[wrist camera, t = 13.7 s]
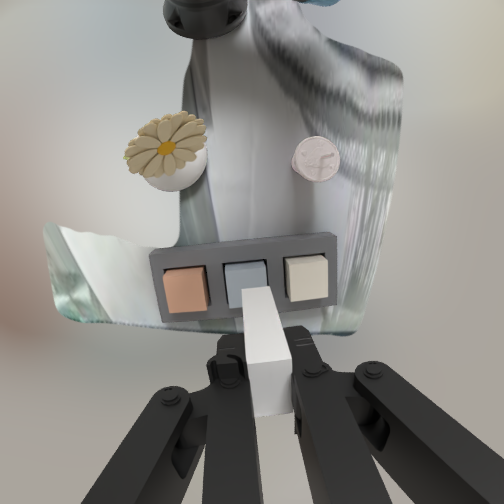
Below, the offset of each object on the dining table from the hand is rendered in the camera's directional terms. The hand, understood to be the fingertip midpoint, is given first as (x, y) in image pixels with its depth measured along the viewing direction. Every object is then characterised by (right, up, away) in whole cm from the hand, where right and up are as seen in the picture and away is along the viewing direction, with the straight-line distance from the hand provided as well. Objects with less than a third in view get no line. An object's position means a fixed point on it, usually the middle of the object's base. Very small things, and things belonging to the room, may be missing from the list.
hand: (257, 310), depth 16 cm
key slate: (-1, -1, +33) cm, 33 cm away
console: (-1, -1, +34) cm, 34 cm away
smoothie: (+8, +18, +31) cm, 36 cm away
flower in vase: (-12, +19, +29) cm, 37 cm away
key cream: (+8, 0, +33) cm, 34 cm away
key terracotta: (-11, -2, +32) cm, 34 cm away
